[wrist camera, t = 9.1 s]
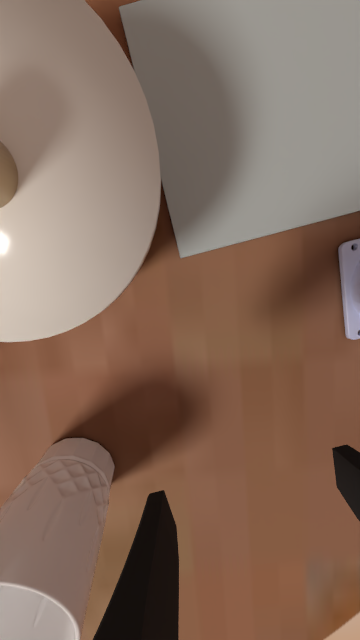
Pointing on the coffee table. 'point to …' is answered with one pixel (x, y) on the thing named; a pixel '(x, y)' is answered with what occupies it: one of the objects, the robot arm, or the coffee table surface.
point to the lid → (69, 168)
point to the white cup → (53, 542)
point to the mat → (250, 112)
